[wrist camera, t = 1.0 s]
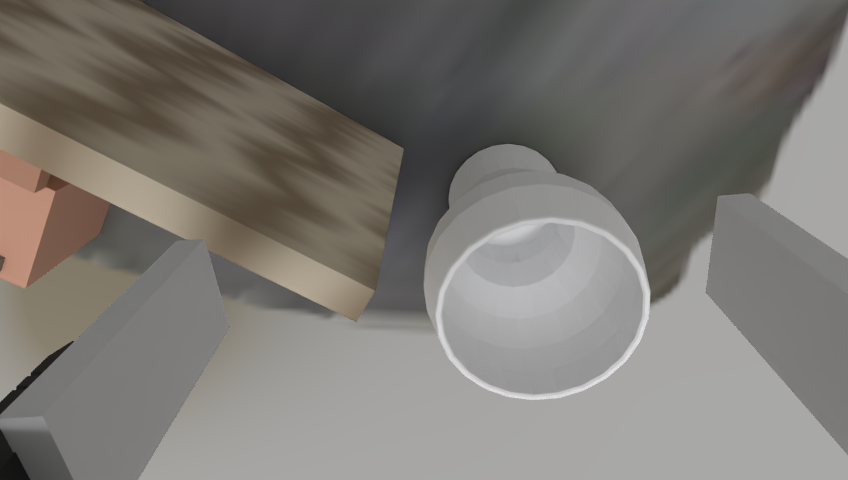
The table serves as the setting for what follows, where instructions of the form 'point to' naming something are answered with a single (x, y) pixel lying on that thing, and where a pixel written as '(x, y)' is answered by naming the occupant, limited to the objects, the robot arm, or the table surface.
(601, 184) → the table surface
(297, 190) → the wallboard
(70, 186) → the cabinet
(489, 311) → the cup
